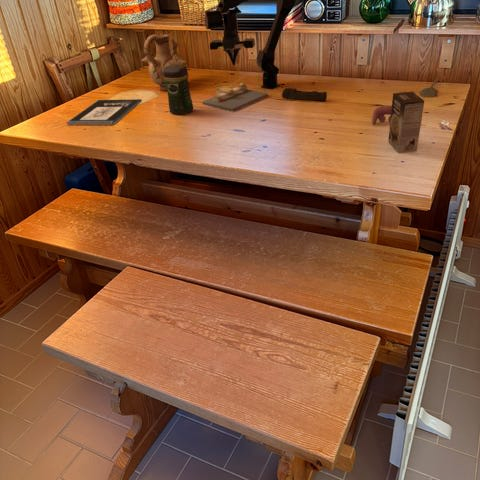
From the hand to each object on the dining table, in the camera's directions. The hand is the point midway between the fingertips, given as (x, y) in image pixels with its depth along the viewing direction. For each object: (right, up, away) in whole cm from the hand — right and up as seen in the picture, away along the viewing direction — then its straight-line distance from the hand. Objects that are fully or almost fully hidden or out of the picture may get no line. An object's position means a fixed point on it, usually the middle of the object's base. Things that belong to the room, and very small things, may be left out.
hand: (234, 64), depth 200 cm
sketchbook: (-56, -21, 0) cm, 60 cm away
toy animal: (+55, -35, -36) cm, 74 cm away
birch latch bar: (-1, -13, 0) cm, 13 cm away
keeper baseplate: (+1, -16, -2) cm, 16 cm away
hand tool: (+29, -18, -9) cm, 35 cm away
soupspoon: (+82, -15, -11) cm, 83 cm away
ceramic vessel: (-30, -3, +22) cm, 37 cm away
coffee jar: (-22, -23, -8) cm, 33 cm away
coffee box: (+54, -46, -53) cm, 89 cm away
